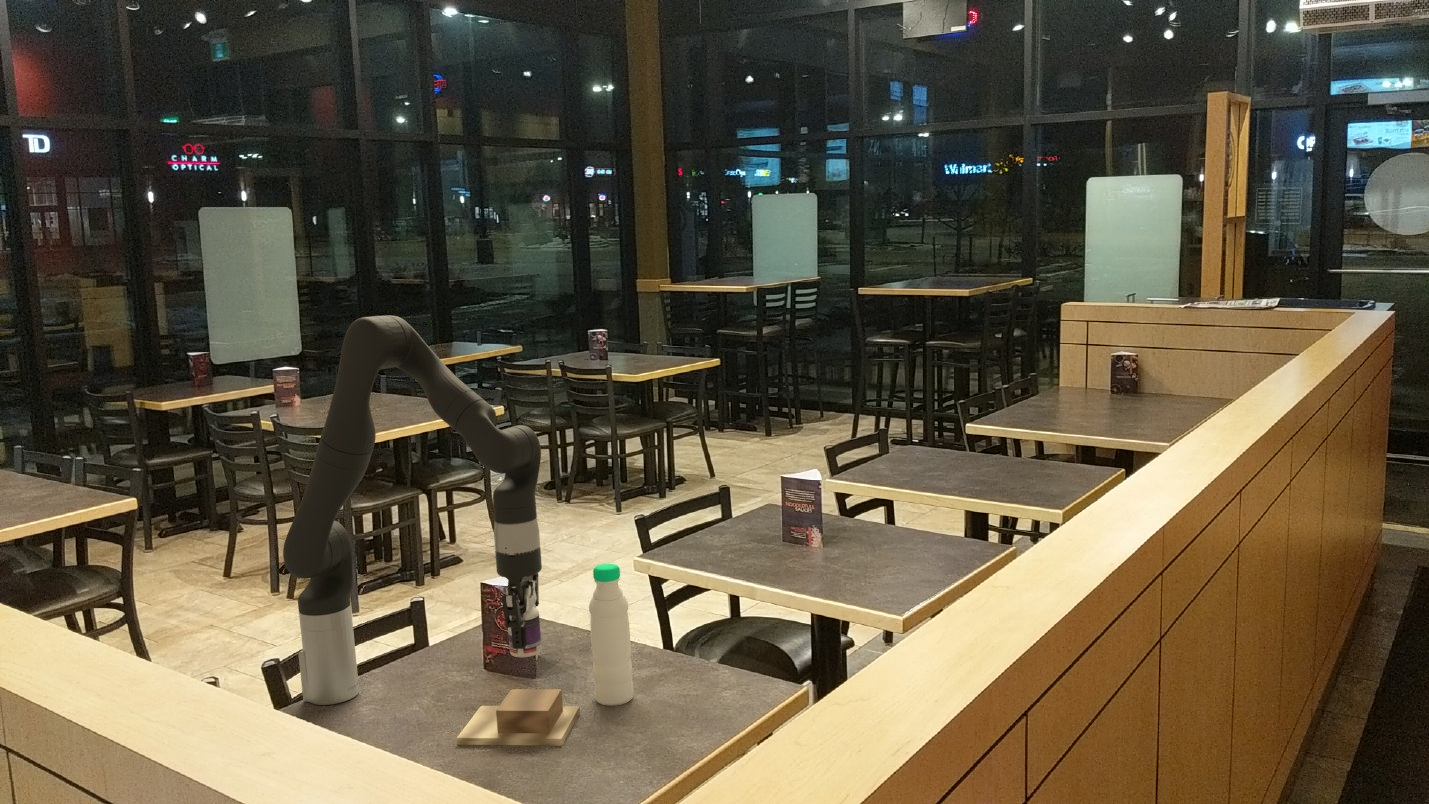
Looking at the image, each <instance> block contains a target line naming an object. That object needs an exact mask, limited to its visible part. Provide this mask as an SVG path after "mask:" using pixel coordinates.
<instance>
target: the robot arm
mask: <svg viewBox="0 0 1429 804" xmlns="http://www.w3.org/2000/svg"><path fill="white" fill-rule="evenodd" d="M391 368H397V369H398V370H401V371H403V372H404V373H406V374H407V375H408V376H410V377H412V378H413V379H414V380H415V381H416V382H417V383H418V384H419V386H421V388H422V390H423V392H424V394H425V397H426V399H427V401H428V403H429V406H430V407H431V409H432V411H433V412H434V413H435V414H436V415H437V416H438V417H439V418H440V419H441V420H443V422H444V423H446V424H447V425H448V426H449V427H450V428H452V429H453V431H455V432H456V433H457V434H459V435H460V436H461V437H462V438H463V439H464V441H465V443H466V445H467V446H468V447H469V448H470V450H471V452H472V453H473V454H474V456H475V458H476V459H477V460H478V462H480V464H481V465H482V466H484V468H486V469H487V470H489V471H491V472H493V473H496V474H504V478H503V480H502V482H501V483H500V484H499V485H498V486H497V487H496V488H495V489H494V491H493V494H492V504H493V506H492V507H493V518H494V520H493V521H494V530H493V540H494V552H495V553H494V554H495V565H496V566H495V567H496V573H497V575H498V576H499V577H502V578H505V579H506V580H507V581H508V582H507V585H506V588H505V594H503V595H501V604H502V610H503V616H504V625H505V628H507V629H508V628H509V627H510V628H511V631H512V645H513V648H514V649H524V648H525V647H526V631H525V615H526V613H528V611H529V596H530V595H533V596H534V605H533V607H535V608H537V607H539V605H540V601H539V597H540V596H539V573H540V572H541V571H542V569H543V566H542V565H543V564H542V563H543V562H542V554H541V553H542V552H541V537H540V536H541V535H540V529H539V528H540V527H539V523H538V516H537V502H536V490H537V484H538V479H539V474H540V467H541V460H542V450H541V449H542V447H541V443H540V439H539V437H538V436H537V434H536V433H535V431H534V430H533V429H532V428H531V427H529V426H527V425H522V424H519V425H514V426H511V427H507V428H504V429H500V428H498V427H497V426H495V424H496V421H497V412H496V411H495V409H494V408H493V406H491V404H489V402H488V401H486V400H485V399H484V398H482V397H481V396H480V395H478V394H477V393H476V391H474V390H473V389H471V388H470V387H469V386H468V385H467V384H466V383H464V382H463V381H462V380H461V379H459V378H458V376H456V375H455V374H454V372H453V371H452V370H450V369H449V368H448V367H447V365H446V364H445V363H444V362H443V361H442V359H440V357H439V356H438V355H437V354H436V353H435V352H434V350H432V348H431V347H430V346H429V345H428V344H427V342H426V341H425V340H424V339H423V338H422V337H421V335H420V334H419V333H418V332H417V331H416V330H415V329H414V328H413V326H412V325H411V324H409V323H408V322H407V320H405V319H404V318H401V317H399V316H397V315H388V314H387V315H375V316H373V315H372V316H363V317H360V318H357V319H355V320H354V321H353V322H352V323H351V324H350V325H349V326H348V328H347V329H346V333H345V335H344V338H343V342H342V346H341V352H340V357H339V364H338V369H337V370H338V371H337V375H336V380H335V386H334V388H333V392H332V393H333V394H332V397H331V402H330V405H329V408H328V411H327V417H326V420H325V423H324V425H323V426H324V427H323V429H322V431H321V434H320V437H319V441H318V444H317V447H316V452H315V456H314V460H313V463H312V468H311V470H310V473H309V476H308V479H307V482H306V486H305V489H304V491H303V492H304V493H303V495H302V498H301V501H300V504H299V506H298V509H297V511H296V513H295V516H294V519H293V521H292V523H291V525H290V528H289V530H288V532H287V535H286V537H285V538H284V539H285V541H284V544H283V549H282V557H283V562H284V565H285V567H286V569H287V571H288V573H290V574H291V575H292V576H294V577H295V578H298V579H303V580H305V579H306V580H307V579H309V581H308V583H307V584H306V586H305V588H304V589H303V590H302V591H301V593H300V594H299V595H298V597H297V598H298V599H297V606H298V607H297V608H298V618H299V627H300V636H301V645H302V649H301V650H300V651H299V652H298V661H299V672H300V673H299V674H300V682H301V690H302V701H303V702H308V703H311V704H313V705H317V706H327V705H336V704H340V703H343V702H347V701H349V700H352V699H353V698H355V697H357V695H358V694H359V693H360V685H359V684H360V683H359V676H358V663H357V654H356V646H355V644H356V643H355V634H354V624H353V623H354V622H353V614H352V613H353V612H352V605H351V603H352V602H351V595H352V592H353V589H354V566H353V550H352V543H351V539H350V536H349V533H348V531H347V530H346V528H345V527H344V526H343V525H342V524H341V523H340V522H338V521H337V520H336V518H337V515H338V514H339V512H340V510H341V509H342V507H343V506H344V505H345V503H346V502H347V501H348V499H349V498H350V497H351V495H352V494H353V493H354V491H355V490H356V488H357V487H358V486H359V484H360V482H361V481H362V479H363V478H364V476H365V473H366V472H367V471H368V470H367V469H368V467H369V463H370V460H371V458H372V454H373V451H374V447H375V443H376V438H377V437H376V427H375V423H374V419H373V416H372V412H371V408H370V405H371V404H370V402H371V401H370V400H371V394H372V390H373V388H374V387H373V386H374V383H375V381H376V379H377V375H378V373H379V371H380V370H385V369H391ZM523 605H524V606H523ZM520 606H523V608H520ZM514 616H516V620H514Z"/></svg>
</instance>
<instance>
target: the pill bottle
mask: <svg viewBox="0 0 1429 804" xmlns="http://www.w3.org/2000/svg"><path fill="white" fill-rule="evenodd" d="M533 605H534V596H533V595H530V596H529V611H528V613H526V615H525V631H526V647H525V648H524V649H514V648H513V645H512V631H511V628H510V627H509V628H507V634H508V636H507V637H508V645H509V647H508V648H509V653H510V655H511V656H512V657H515V658H528V657H532V656H533V657H534V656H536V655H538V654H540V653H541V652H542V650H543V649H542V637H541V634H542V633H541V624H540V611H539V610H538V608H537V607H536V608H535V607H533ZM523 606H524V605H523ZM523 606H520V608H523ZM514 620H516V616H514Z"/></svg>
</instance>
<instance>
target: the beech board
mask: <svg viewBox="0 0 1429 804" xmlns="http://www.w3.org/2000/svg"><path fill="white" fill-rule="evenodd" d="M499 706H500V705H480V707H479V708H478V709H477V711H476V712H475V713H474V714H473V716H472V717H471V718H470V720H469V721H468V722H467V724H465V726H464V728H463V729H462V730H461V731H460V732H459V734H458V735H457V737H456V745H458V746H461V745H462V746H464V745H465V746H467V745H469V746H545V747H546V746H549V747H550V746H551V747H552V746H553V747H554V746H559V747H560V746H563V745H564V742H565V741H566V739H567V737H568V735H569V733H570V731H571V730H572V728H573V726H574V724H575V723H576V721H577V719H578V717H579V715H580V714H581V710H580V706H579V705H578V706H577V705H575V706H573V705H572V706H570V705H569V706H567V705H566V706H563V712H562V713H561V715H560V717H559V719H558V720H557V722H556V724H555V725H554V727H553V729H552V730H551V732H550V733H498V730H497V717H496V710H497V708H498V707H499Z"/></svg>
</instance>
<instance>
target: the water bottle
mask: <svg viewBox="0 0 1429 804" xmlns="http://www.w3.org/2000/svg"><path fill="white" fill-rule="evenodd" d="M592 575H593V577H592V578H593V580H594V581H593V582H594V583H595V584H596V587H595V589H594V591H593V593H592V597H591V599H590V601H589V605H588V611H589V614H590V624H589V626H590V643H591V653H592V659H593V665H592V672H593V673H592V674H593V679H594V685H593V686H594V687H593V688H594V689H593V690H594V700H595V701H596V702H597V703H599V705H603V706H608V707H614V706H621V705H624V704H627V703H628V702H630V701H631V700H632V699H633V697H634V693H635V692H634V683H633V665H632V664H633V663H632V660H631V632H630V631H631V630H630V620H629V612H628V611H629V602H628V599H627V598H626V595H625V594H624V592H623V590H622V588H621V586H620V585H619V581H620V578H621V569H620V567H619V566H618V564H615V563H602V564H598V565H595V566H594V568H593V571H592Z"/></svg>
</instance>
